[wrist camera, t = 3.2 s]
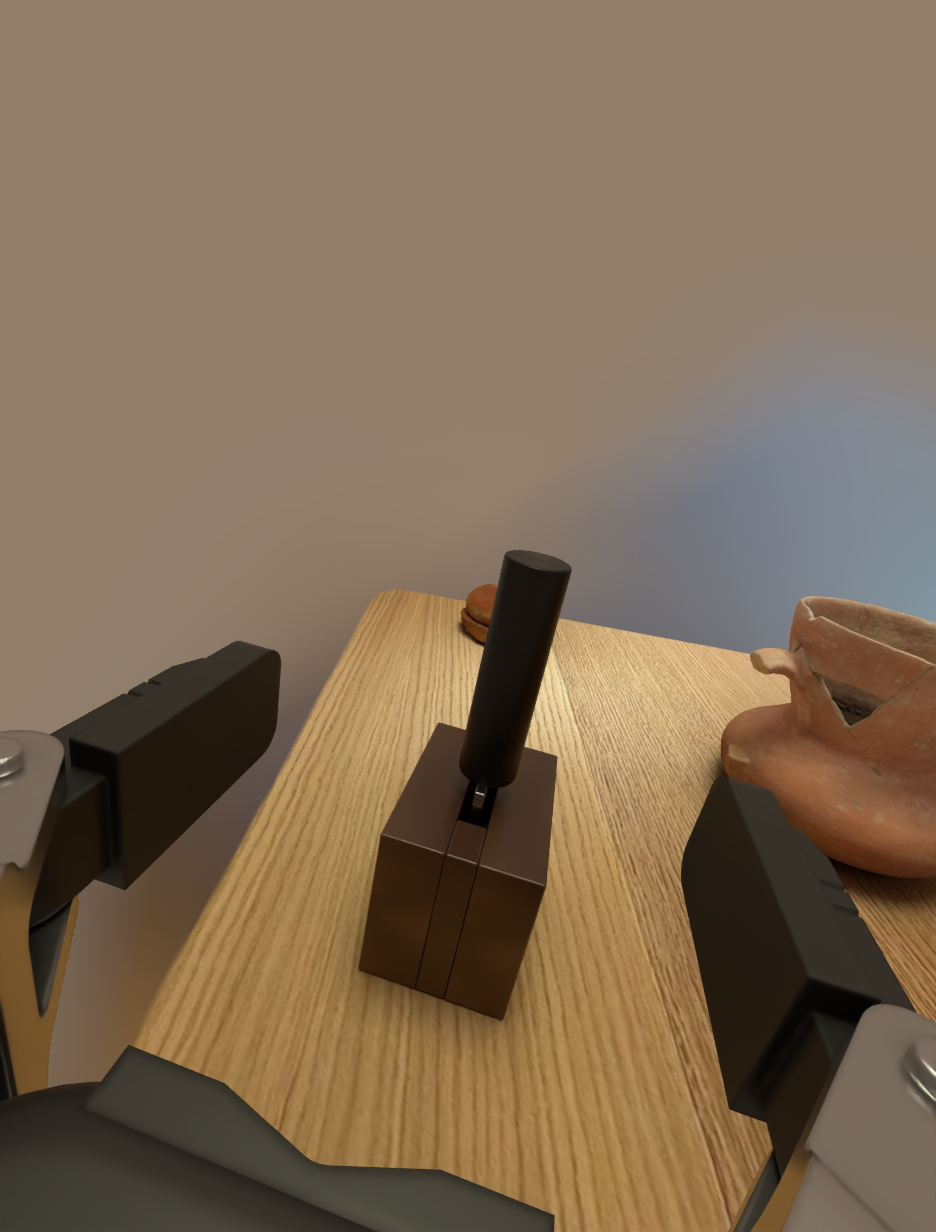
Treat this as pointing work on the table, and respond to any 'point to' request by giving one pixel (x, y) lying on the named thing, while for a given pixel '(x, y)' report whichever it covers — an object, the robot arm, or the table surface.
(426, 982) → the knife block
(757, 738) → the ceramic jug
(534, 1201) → the table surface
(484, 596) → the burger
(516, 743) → the black tall cylinder
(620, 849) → the table surface
